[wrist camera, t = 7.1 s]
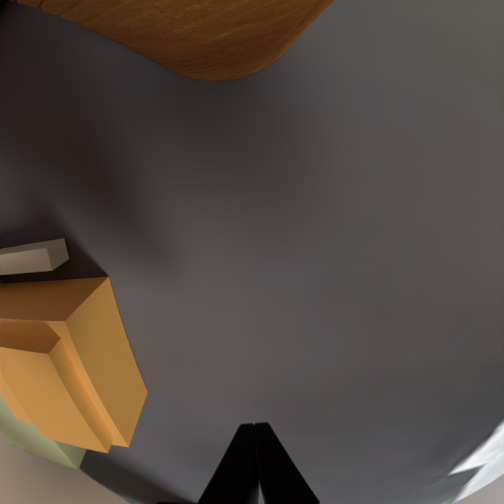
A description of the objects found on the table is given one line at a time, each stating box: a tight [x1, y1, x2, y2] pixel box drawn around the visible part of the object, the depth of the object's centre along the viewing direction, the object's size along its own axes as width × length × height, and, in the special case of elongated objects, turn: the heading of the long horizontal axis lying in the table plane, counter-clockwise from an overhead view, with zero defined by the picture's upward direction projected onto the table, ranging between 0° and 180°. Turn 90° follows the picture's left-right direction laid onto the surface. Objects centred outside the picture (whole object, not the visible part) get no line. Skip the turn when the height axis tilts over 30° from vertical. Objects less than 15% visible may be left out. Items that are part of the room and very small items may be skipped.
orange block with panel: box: [0, 277, 148, 453], centre depth 11 cm, size 7×8×5 cm
